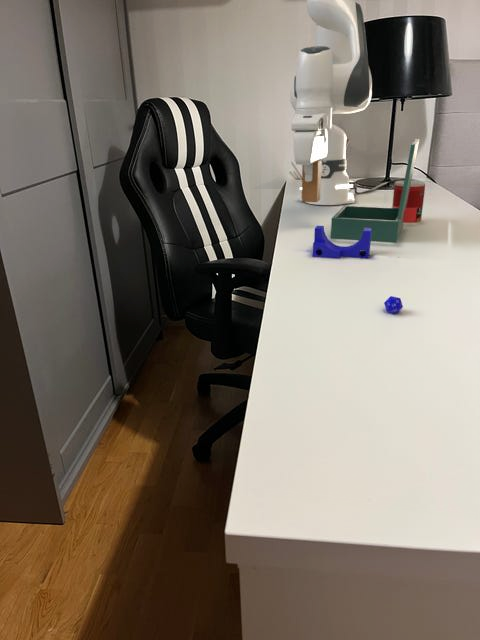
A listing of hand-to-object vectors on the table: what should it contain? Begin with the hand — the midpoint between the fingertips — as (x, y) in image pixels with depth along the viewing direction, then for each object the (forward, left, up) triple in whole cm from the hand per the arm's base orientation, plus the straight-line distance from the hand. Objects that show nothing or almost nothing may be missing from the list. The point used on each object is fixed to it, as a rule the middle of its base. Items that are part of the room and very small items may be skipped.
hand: (311, 179), depth 127 cm
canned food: (-18, +23, -14) cm, 32 cm away
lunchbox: (0, +15, -14) cm, 20 cm away
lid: (0, +23, +1) cm, 23 cm away
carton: (0, 0, -5) cm, 5 cm away
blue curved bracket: (+20, +12, -14) cm, 27 cm away
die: (+50, +26, -14) cm, 58 cm away
